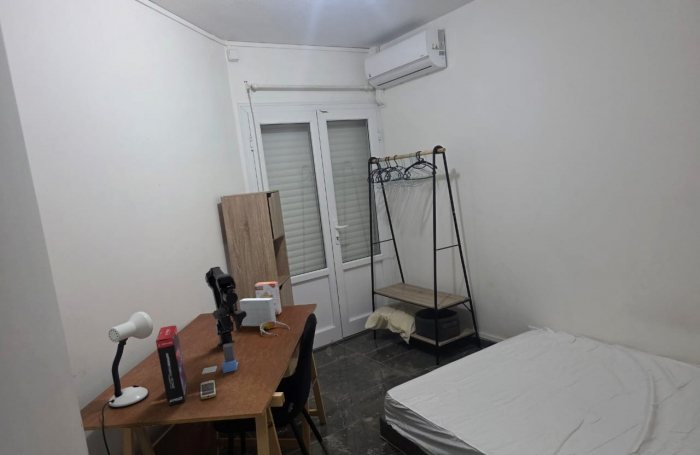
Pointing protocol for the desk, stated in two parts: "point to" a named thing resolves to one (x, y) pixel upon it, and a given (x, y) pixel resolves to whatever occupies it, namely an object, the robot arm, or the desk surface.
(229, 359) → the tall grey square pillar
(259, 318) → the skincare box
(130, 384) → the desk surface
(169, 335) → the graphics card box
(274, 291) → the cracker box
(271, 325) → the sunglasses
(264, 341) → the desk surface
